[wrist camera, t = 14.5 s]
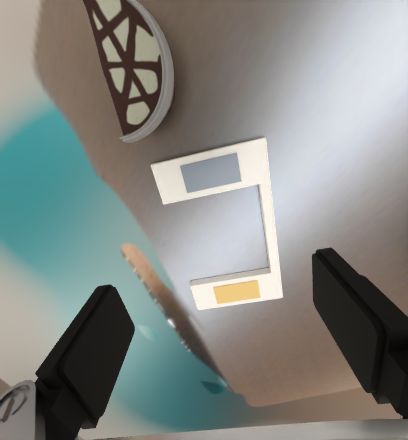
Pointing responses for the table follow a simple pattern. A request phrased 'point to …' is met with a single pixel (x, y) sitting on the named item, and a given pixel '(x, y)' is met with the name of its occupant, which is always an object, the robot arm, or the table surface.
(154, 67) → the food container
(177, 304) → the table surface
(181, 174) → the label board
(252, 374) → the table surface
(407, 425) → the robot arm
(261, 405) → the table surface
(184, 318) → the table surface
